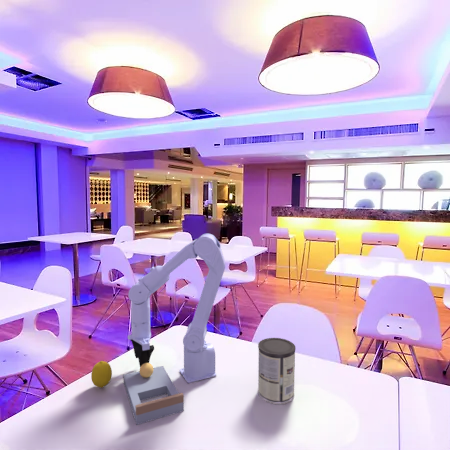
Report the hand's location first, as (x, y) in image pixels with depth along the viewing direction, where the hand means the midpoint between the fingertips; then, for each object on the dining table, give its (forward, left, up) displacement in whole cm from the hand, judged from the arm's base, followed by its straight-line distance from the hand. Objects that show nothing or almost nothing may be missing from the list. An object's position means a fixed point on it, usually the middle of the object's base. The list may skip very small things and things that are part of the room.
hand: (141, 362), depth 101 cm
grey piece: (0, +13, -3) cm, 14 cm away
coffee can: (-32, +27, -3) cm, 42 cm away
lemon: (+12, +3, -3) cm, 13 cm away
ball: (0, +7, -1) cm, 7 cm away
